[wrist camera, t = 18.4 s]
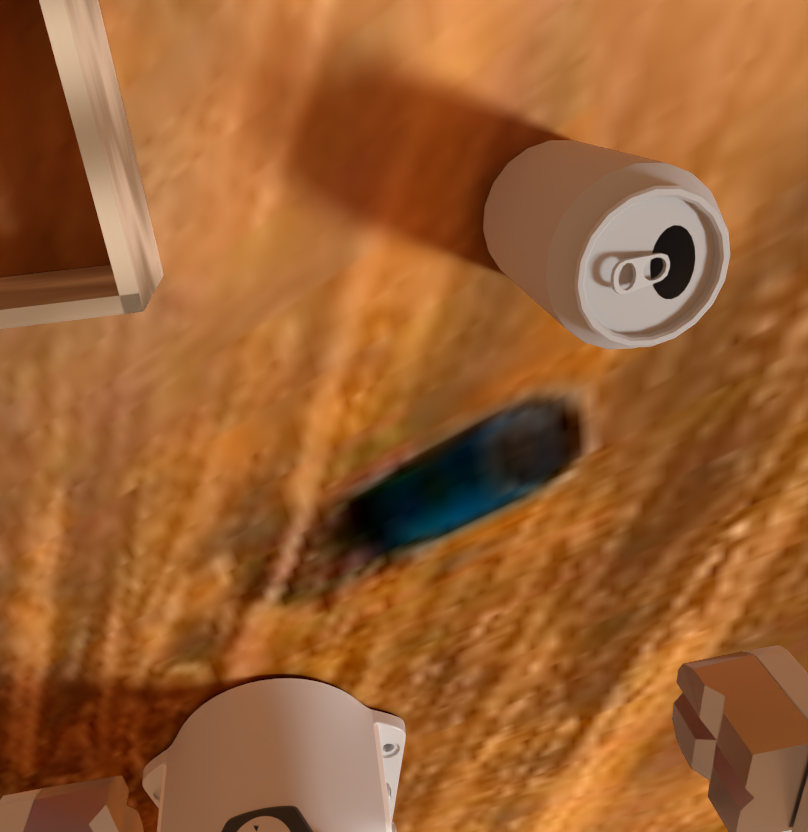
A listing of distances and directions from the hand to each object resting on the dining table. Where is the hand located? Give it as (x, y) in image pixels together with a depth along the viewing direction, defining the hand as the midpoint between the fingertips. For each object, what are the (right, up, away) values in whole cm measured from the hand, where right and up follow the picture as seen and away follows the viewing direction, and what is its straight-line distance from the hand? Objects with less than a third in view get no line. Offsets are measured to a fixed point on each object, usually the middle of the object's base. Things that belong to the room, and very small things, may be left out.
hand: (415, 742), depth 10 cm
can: (+7, +16, +27) cm, 32 cm away
